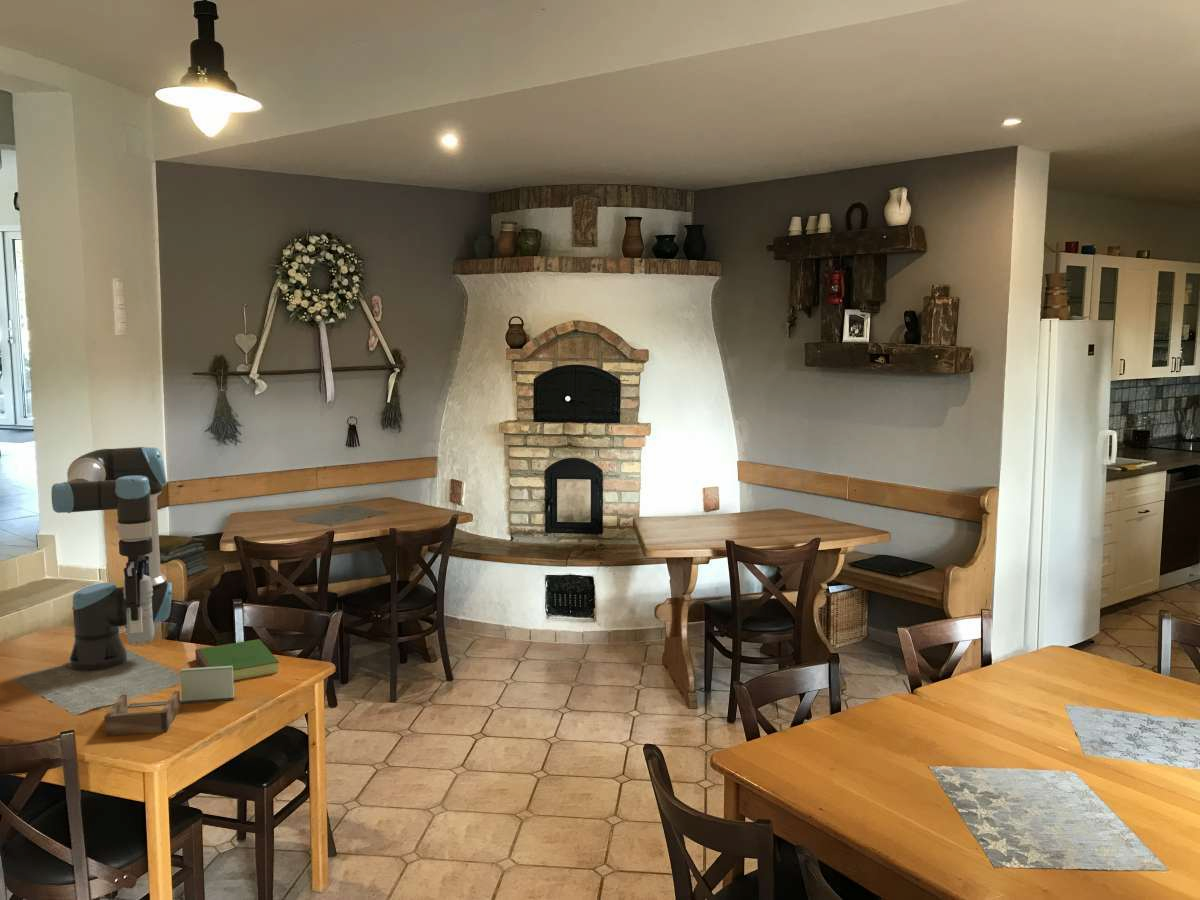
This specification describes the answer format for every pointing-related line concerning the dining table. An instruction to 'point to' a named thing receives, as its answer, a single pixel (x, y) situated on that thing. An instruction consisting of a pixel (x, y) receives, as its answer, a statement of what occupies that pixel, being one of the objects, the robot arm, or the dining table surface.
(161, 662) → the dining table surface
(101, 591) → the robot arm
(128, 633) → the bottle
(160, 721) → the cradle
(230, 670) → the pale grey flat panel
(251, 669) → the hardcover book
